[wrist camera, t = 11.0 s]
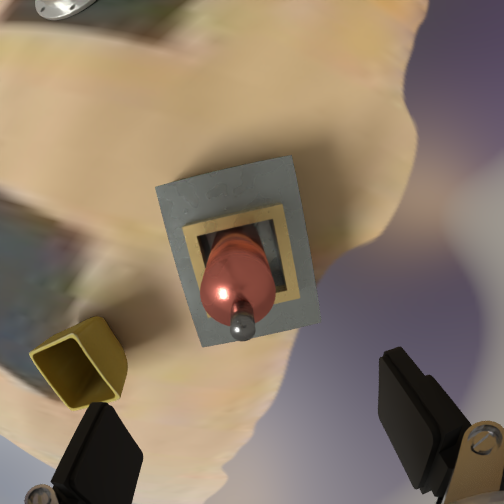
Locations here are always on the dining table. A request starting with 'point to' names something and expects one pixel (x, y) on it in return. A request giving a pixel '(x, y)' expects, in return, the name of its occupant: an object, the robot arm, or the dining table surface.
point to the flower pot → (83, 364)
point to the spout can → (238, 281)
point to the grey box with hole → (237, 214)
